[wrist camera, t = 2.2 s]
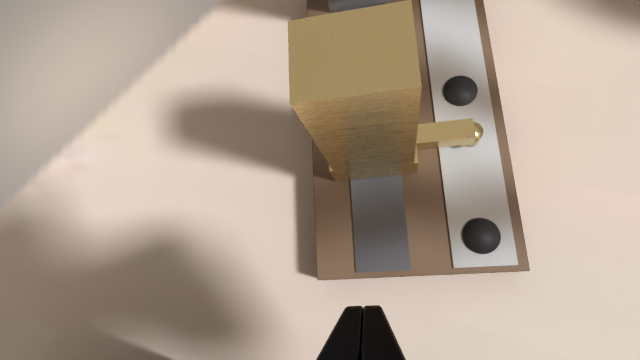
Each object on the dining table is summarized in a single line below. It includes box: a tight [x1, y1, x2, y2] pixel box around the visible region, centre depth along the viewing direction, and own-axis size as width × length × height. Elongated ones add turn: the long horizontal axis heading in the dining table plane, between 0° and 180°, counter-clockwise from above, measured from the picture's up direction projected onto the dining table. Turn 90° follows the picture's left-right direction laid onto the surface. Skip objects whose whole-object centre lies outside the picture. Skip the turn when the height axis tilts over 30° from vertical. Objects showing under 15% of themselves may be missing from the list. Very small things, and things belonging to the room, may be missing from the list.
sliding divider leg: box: [288, 0, 483, 181], centre depth 17 cm, size 3×8×10 cm, turn 92°
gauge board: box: [307, 0, 530, 280], centre depth 18 cm, size 20×10×12 cm, turn 2°
